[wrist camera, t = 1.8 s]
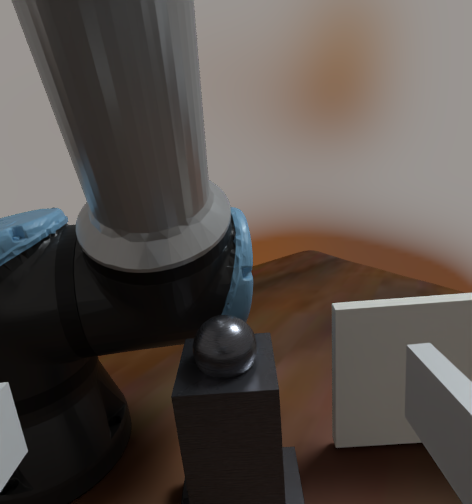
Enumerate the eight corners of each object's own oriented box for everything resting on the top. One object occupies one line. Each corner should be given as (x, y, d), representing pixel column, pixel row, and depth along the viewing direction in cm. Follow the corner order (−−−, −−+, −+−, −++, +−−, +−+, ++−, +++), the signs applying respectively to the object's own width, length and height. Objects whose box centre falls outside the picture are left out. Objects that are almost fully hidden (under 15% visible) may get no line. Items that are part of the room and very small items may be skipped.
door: (503, 413, 36) (526, 279, 32) (524, 436, 33) (552, 293, 29) (328, 424, 37) (327, 295, 32) (335, 447, 34) (335, 310, 29)
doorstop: (177, 604, 24) (127, 369, 18) (192, 480, 33) (162, 293, 27) (316, 597, 24) (309, 356, 18) (295, 473, 32) (286, 283, 27)
